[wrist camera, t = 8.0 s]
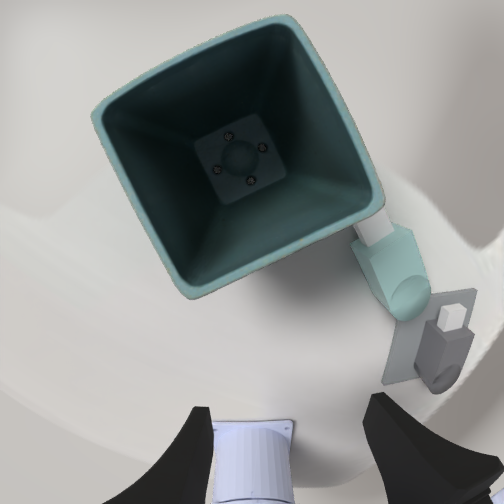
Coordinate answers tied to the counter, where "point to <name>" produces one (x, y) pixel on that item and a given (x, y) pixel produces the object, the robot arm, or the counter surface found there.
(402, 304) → the teal plug
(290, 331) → the counter surface
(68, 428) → the counter surface
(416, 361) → the white-capped grey post
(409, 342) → the coaster
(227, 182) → the flower pot
